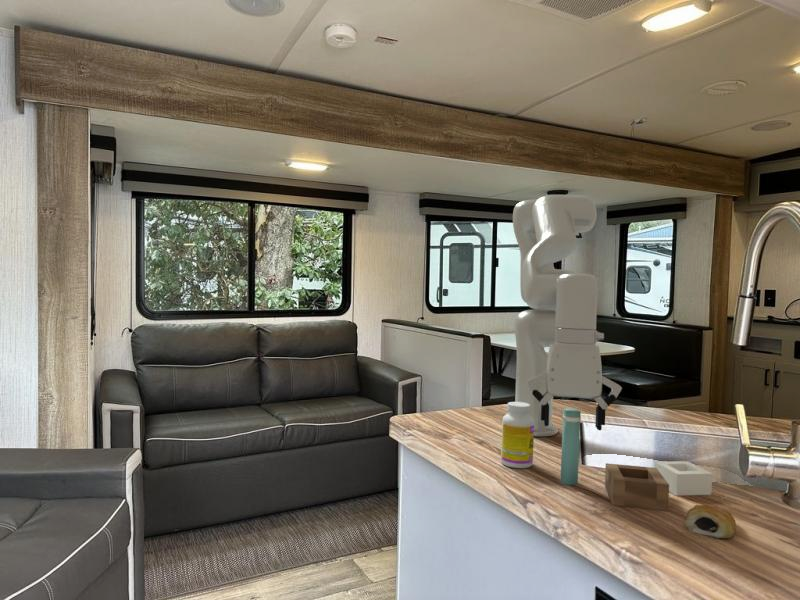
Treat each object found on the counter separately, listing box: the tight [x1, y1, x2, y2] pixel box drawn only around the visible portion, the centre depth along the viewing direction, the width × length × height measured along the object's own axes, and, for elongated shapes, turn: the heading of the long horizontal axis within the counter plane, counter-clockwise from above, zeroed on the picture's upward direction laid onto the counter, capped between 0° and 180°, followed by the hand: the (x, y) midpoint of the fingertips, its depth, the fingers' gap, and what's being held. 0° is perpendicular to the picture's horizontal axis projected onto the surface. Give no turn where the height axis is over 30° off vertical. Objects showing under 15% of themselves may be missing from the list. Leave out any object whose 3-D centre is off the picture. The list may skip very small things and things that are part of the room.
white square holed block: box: [654, 460, 713, 497], centre depth 106 cm, size 7×7×4 cm
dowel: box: [560, 408, 582, 486], centre depth 107 cm, size 3×3×14 cm
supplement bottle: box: [500, 401, 535, 469], centre depth 117 cm, size 7×7×13 cm
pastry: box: [683, 504, 737, 540], centre depth 89 cm, size 9×7×4 cm
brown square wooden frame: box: [604, 463, 670, 512], centre depth 100 cm, size 9×9×4 cm
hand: (572, 426), depth 106 cm, fingers open, 9 cm apart
